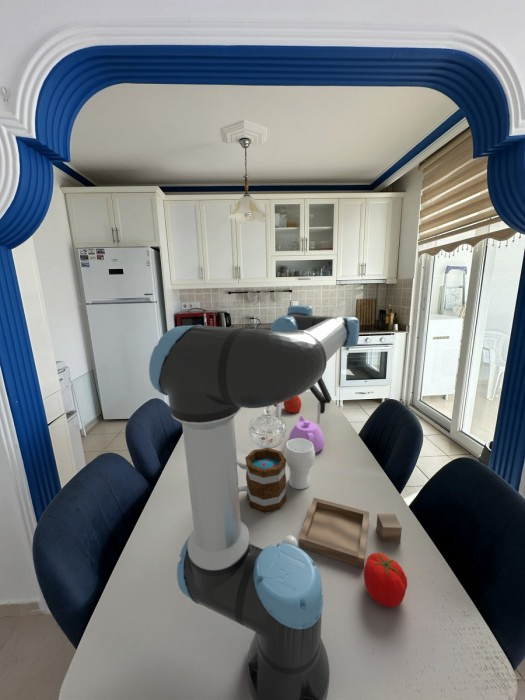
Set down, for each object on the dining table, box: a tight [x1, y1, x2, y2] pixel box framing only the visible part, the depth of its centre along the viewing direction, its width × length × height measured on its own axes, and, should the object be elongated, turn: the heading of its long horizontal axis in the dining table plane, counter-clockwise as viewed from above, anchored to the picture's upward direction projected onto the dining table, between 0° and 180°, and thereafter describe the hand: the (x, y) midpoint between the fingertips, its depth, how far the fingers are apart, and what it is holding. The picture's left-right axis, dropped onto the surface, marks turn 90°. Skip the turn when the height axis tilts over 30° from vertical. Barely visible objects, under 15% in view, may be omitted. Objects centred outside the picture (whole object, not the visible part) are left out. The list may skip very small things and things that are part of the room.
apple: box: [283, 395, 302, 414], centre depth 169 cm, size 10×10×10 cm
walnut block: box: [375, 513, 403, 544], centre depth 85 cm, size 5×5×5 cm
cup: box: [284, 438, 316, 490], centre depth 107 cm, size 11×11×15 cm
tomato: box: [363, 552, 408, 608], centre depth 69 cm, size 9×10×8 cm
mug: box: [237, 447, 287, 514], centre depth 100 cm, size 20×14×15 cm
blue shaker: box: [281, 534, 299, 548], centre depth 76 cm, size 4×4×9 cm
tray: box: [298, 497, 370, 570], centre depth 86 cm, size 17×17×3 cm
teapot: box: [288, 415, 325, 454], centre depth 131 cm, size 22×16×12 cm
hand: (298, 418), depth 97 cm, fingers open, 13 cm apart
